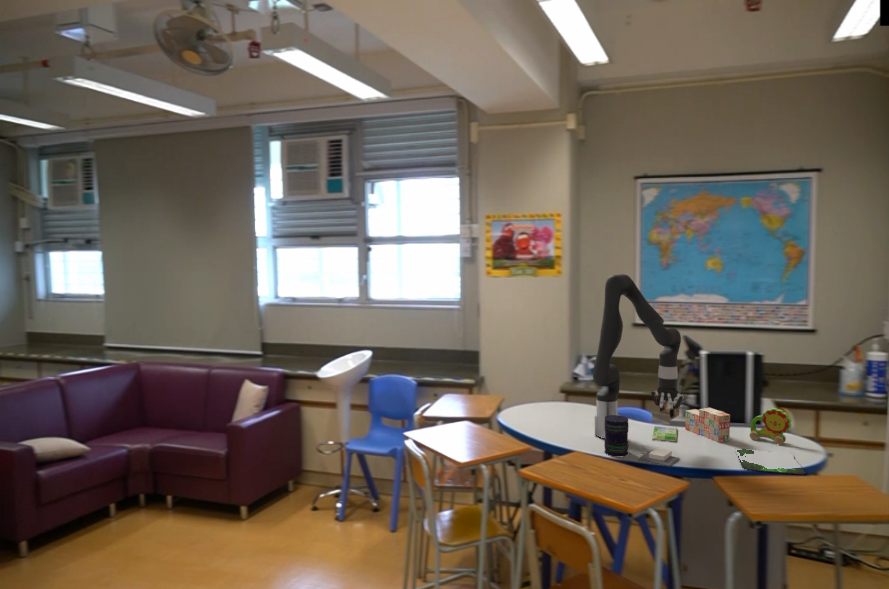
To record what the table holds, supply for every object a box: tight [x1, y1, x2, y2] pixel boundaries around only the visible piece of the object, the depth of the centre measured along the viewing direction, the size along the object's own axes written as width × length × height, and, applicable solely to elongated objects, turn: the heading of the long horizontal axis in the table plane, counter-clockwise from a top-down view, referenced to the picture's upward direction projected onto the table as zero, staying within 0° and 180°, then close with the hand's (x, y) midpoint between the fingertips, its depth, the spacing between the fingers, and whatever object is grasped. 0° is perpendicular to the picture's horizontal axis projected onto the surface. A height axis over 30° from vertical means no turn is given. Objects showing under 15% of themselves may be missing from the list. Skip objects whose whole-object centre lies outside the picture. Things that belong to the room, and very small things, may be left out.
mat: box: [637, 451, 680, 468], centre depth 248 cm, size 13×11×1 cm
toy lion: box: [749, 407, 792, 446], centre depth 266 cm, size 16×6×15 cm, turn 44°
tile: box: [649, 447, 673, 461], centre depth 249 cm, size 6×2×9 cm
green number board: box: [652, 425, 678, 443], centre depth 280 cm, size 20×1×10 cm
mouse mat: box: [737, 448, 807, 476], centre depth 244 cm, size 27×22×1 cm
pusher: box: [651, 405, 680, 426], centre depth 255 cm, size 17×7×4 cm, turn 139°
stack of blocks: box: [684, 407, 731, 443], centre depth 277 cm, size 21×6×12 cm, turn 19°
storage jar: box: [603, 414, 630, 457], centre depth 257 cm, size 10×10×15 cm
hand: (667, 416), depth 254 cm, fingers closed on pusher, 3 cm apart
